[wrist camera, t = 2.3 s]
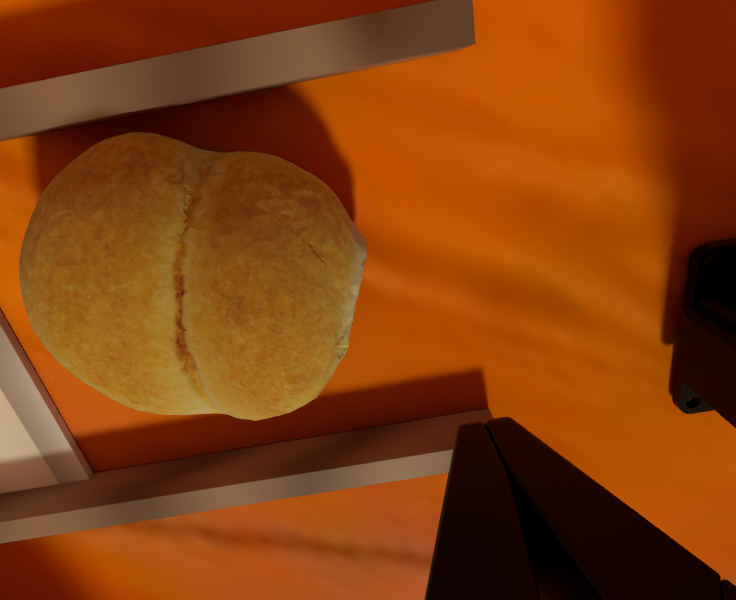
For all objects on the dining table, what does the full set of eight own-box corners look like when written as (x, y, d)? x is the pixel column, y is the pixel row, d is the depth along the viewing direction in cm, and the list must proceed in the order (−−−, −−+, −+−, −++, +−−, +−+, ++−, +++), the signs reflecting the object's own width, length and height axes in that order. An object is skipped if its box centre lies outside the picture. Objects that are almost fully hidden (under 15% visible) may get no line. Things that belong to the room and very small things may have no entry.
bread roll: (45, 112, 12) (-79, 115, 8) (377, 167, 13) (395, 192, 10) (69, 376, 15) (-13, 463, 11) (336, 401, 16) (339, 487, 13)
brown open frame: (454, 7, 12) (489, -23, 9) (490, 428, 17) (518, 495, 15) (-430, 186, 13) (-660, 212, 10) (-125, 528, 19) (-214, 609, 16)
